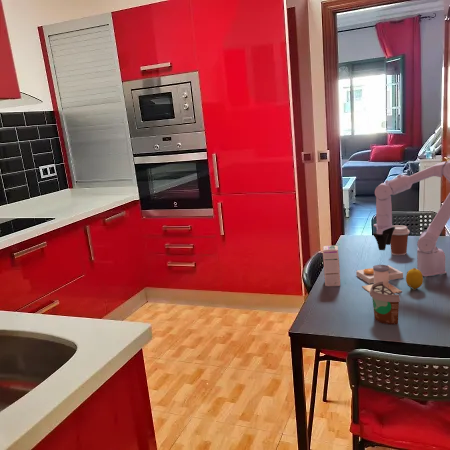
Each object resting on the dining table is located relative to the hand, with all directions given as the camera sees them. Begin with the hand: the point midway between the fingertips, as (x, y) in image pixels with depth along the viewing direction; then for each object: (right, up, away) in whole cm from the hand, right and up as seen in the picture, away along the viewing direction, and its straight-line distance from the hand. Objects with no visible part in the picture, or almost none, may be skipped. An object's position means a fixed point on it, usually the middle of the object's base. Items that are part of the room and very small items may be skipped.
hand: (384, 247), depth 178 cm
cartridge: (-7, -14, -17) cm, 23 cm away
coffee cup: (+14, -4, +20) cm, 25 cm away
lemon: (+3, -14, -20) cm, 25 cm away
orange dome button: (-8, -12, -5) cm, 15 cm away
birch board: (-7, -14, -17) cm, 24 cm away
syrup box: (-22, -14, -7) cm, 27 cm away
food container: (-15, -21, -39) cm, 47 cm away
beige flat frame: (-4, -11, -5) cm, 13 cm away
